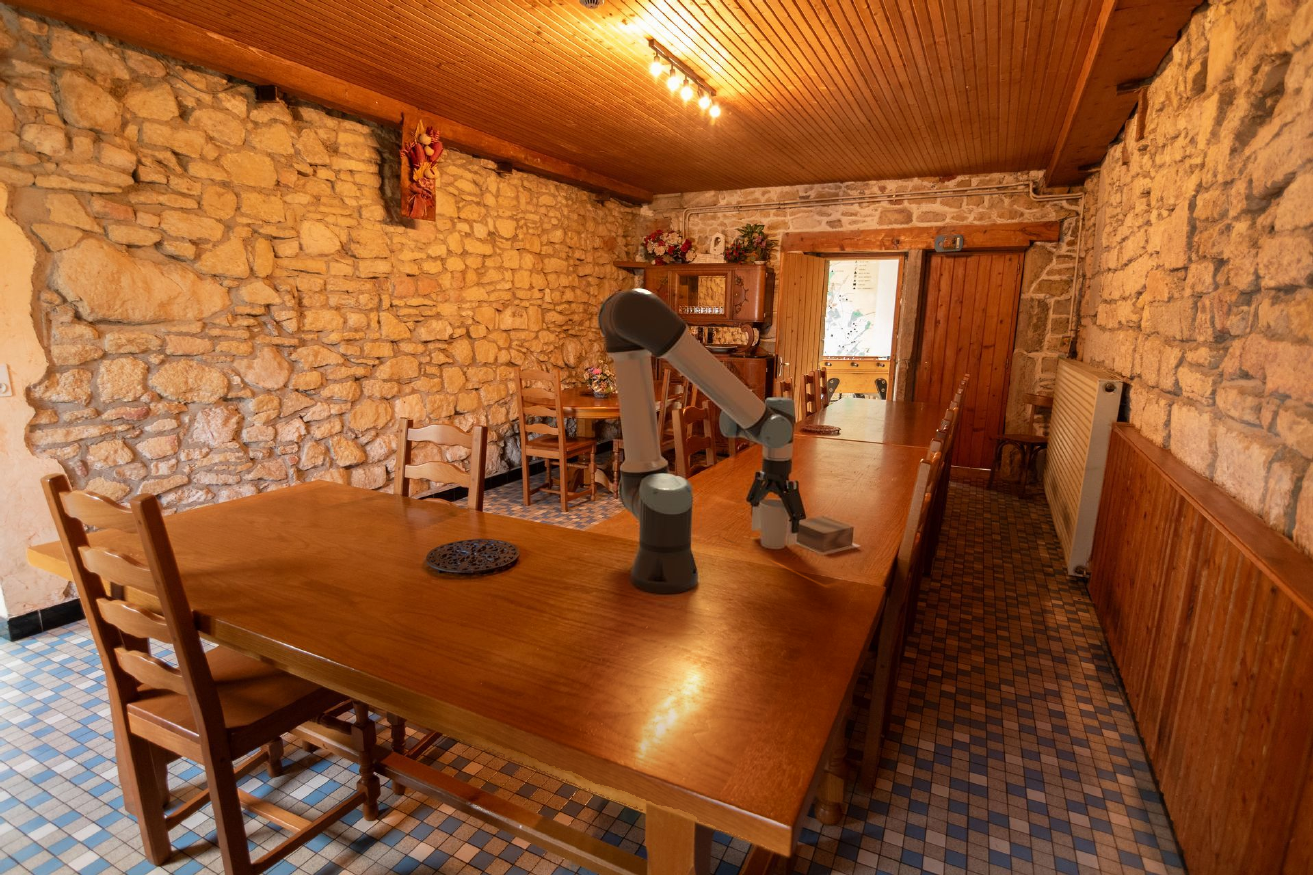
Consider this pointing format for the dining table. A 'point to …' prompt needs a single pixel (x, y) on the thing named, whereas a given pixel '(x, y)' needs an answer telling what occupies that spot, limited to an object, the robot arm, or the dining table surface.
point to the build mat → (830, 550)
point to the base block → (824, 533)
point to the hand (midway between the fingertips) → (773, 536)
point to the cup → (773, 523)
